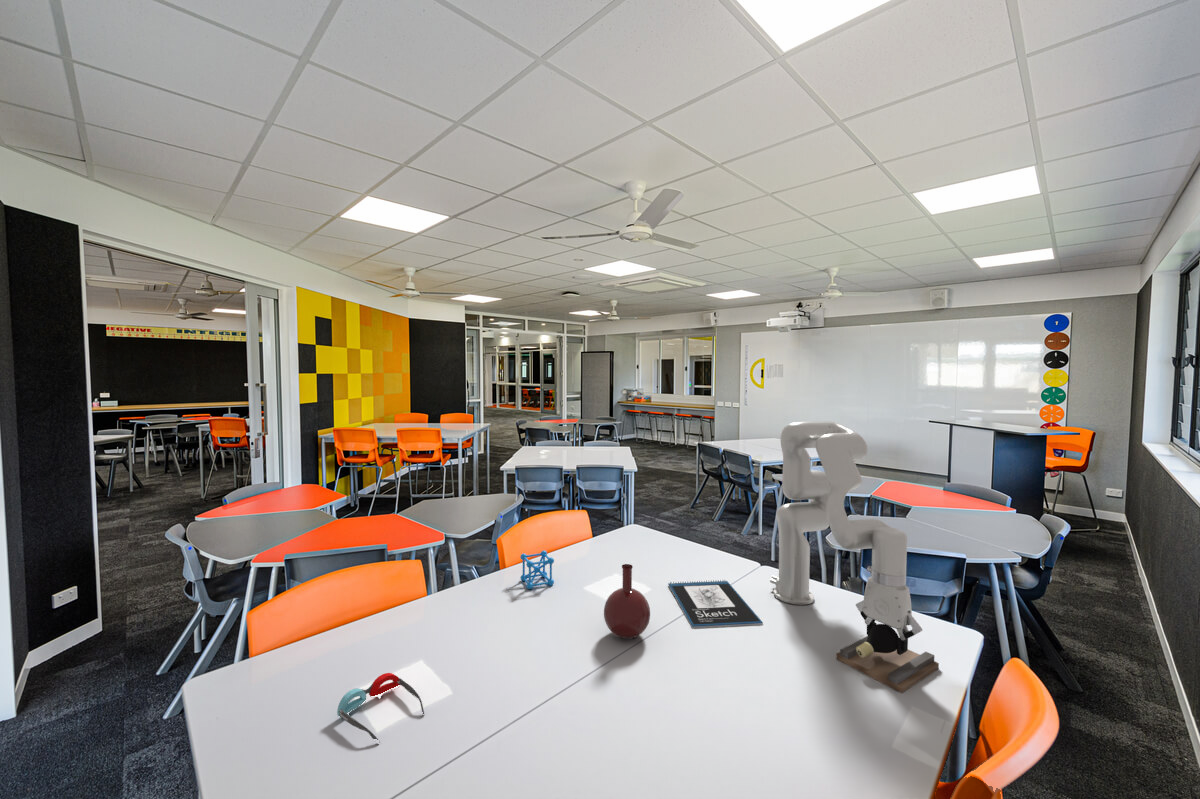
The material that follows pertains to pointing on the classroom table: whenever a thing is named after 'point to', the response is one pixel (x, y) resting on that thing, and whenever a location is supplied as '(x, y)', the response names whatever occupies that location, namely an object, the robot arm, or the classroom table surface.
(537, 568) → the molecular structure
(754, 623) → the sketchbook
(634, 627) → the round-bottom flask
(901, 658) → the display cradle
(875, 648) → the light bulb
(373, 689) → the novelty glasses
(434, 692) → the classroom table surface
